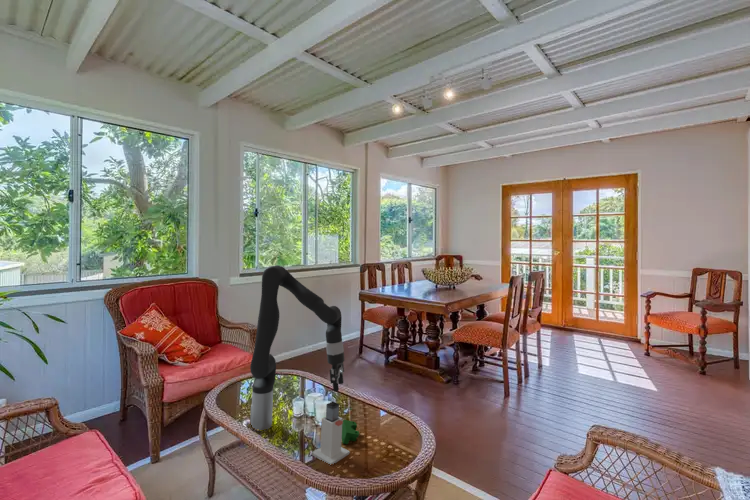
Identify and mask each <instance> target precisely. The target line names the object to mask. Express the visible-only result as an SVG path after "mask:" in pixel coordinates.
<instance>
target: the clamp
mask: <svg viewBox="0 0 750 500" xmlns="http://www.w3.org/2000/svg"><path fill="white" fill-rule="evenodd" d="M342 421H343V424H342V442H341V444H342V445H349V444H350V441H351V442H357V439H358V438H359V436H360V431H359V430H357V427H358V424H357V422H356V421H354V420H348V419H342Z"/></svg>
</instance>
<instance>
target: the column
mask: <svg viewBox="0 0 750 500" xmlns="http://www.w3.org/2000/svg"><path fill="white" fill-rule="evenodd" d="M325 405H326V409H325V412H326V413H325V417H326V420H328V421H330V422H334V421H336V420H338V416H339V414H340V413H339V409H340V404H339V403H337V402H335V401H330V402H328V403H327V404H325ZM339 417H340V416H339Z"/></svg>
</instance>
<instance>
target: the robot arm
mask: <svg viewBox="0 0 750 500" xmlns="http://www.w3.org/2000/svg"><path fill="white" fill-rule="evenodd" d="M280 287H283V288H284V289H286V290H287V291H289V292H290V293H291V294H292V295H293V296H294V298H296V299H297V301H298V302H300V303H301V304H302V305H303V306H304V307H306V308H307V309H309V311H312V312H313V313H314V314H315V315H316V317H318V318H319V319H320V320H321V321H322V322H324V323H325V324H326V325H327V327H326V331H325V340H326V341H325V342H326V357H327V358H326V359H327V364H329V365H331V368H329V378H330V379H329V381H330V384H332V389H333V392H335V393H336V392H337V393H338V392H339V390H340V389H339V385H343V384H344V373H345V367H344V366H345V365H344V362H345V361H346V360H345V353H344V352H345V350H344V343H343V335H342V312H341V309H340V308H339V307H338V306H336V305H332V306H328V304H326V303H325V301H324V299H323V298H322V297H321V296H319V295H317V293H315V292H313V291H312V290H310V289H309V288H307V287H306V286H305V285H303V284H302V283H301V282H300V281H299V280H298V279H296V278H295V277H294V276H293V275H292V274H291V273H290V272H289V271H288V270H287V269H286V268H285V267H284V266H282V265H271V266H267V267H266V268H265V269H264V270H263V272H262V276H261V294H260V295H261V297H260V304H259V312H258V317H257V325H256V332H255V333H256V334H255V340H254V341H255V343H254V350H253V354H252V358H251V362H250V373H251V375H252V377H253V378H255V380H254V382H253V384H252V386H251V387H252V388H251V389H252V390H251V391H252V393H251V405H250V417H249V418H250V421H249V423H250V422H251V425H252V427H253V428H255V429H259V430H264V429H267V430H269V429H270V427H271V428H272V426H273V425H272V424H273V407H274V406H273V404H274V403H273V402H274V400H273V399H274V398H273V397H274V385H275V381H276V375H277V374H276V371H277V363H276V359H275V356H273V355H272V354H271V353H270V352H271V348H272V346H273V343H274V340H275V338H276V335H277V333H278V329H279V324H280V308H279V305H278V304H279V303H278V293H279V289H280ZM251 425H250V426H251ZM271 425H272V426H271ZM268 428H269V429H268ZM264 431H265V430H264Z"/></svg>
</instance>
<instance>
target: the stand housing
mask: <svg viewBox="0 0 750 500" xmlns="http://www.w3.org/2000/svg"><path fill="white" fill-rule="evenodd" d="M343 420H344V418H343V417H340V416H338V420H336V421H334V422H330V421H328V420H326V416H324V417H322V418H321V426H320V427H321V428H320V447H318V448H317V449H315V450H313V451H311V456H313V457H315V458H316V459H319V460H320V461H321V460H322V461H321V462H323V461H324V462H323V463H325V462H326V463H328V464H330V465H331V464H333V465H334V463H335V464H336V463H338V462H339V461H341V460H342V459H344V458H345V457H347V456H348V455H350V453H351V451H349V450H348V449H346V448H344V447H342V424H343ZM326 463H325V464H326ZM328 464H327V465H328ZM330 465H329V466H330Z"/></svg>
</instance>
